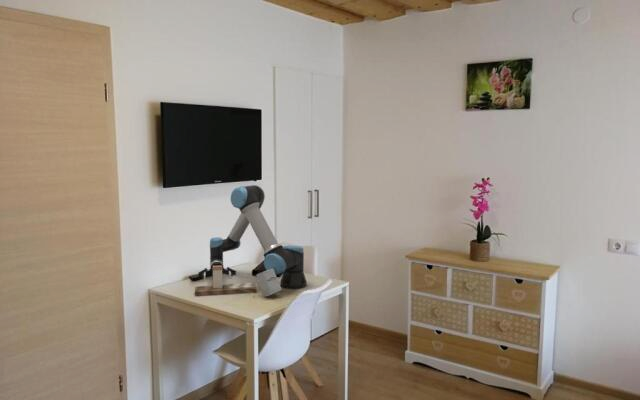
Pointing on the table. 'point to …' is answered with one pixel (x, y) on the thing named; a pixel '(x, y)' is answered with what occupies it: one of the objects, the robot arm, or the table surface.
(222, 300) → the table surface
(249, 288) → the board
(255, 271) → the diary
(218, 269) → the stub
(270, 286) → the supplement box
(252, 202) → the robot arm
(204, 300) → the table surface
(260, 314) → the table surface
